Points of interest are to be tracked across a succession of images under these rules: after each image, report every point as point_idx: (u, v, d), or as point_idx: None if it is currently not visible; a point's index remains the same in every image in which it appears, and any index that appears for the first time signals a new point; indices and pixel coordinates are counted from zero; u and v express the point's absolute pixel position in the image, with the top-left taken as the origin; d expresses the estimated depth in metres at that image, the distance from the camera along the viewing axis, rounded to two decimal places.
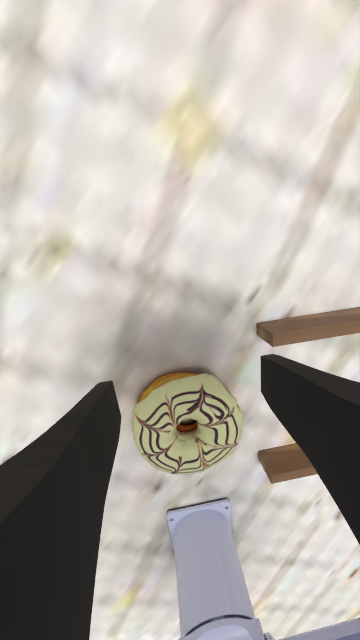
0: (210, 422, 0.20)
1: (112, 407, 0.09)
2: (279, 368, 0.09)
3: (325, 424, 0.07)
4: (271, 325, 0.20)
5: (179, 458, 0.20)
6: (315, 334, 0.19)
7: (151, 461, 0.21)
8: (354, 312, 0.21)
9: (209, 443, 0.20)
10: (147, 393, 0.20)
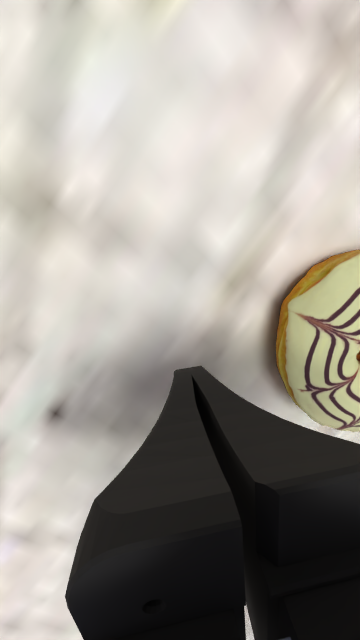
0: None
1: None
2: (194, 382, 0.09)
3: (216, 445, 0.07)
4: None
5: None
6: None
7: (315, 403, 0.12)
8: None
9: None
10: (313, 280, 0.11)
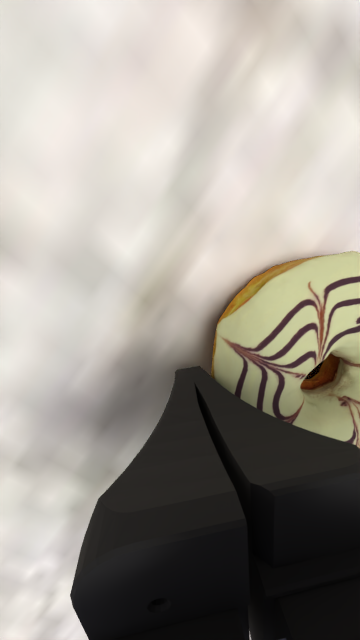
0: None
1: None
2: (193, 382, 0.09)
3: (213, 446, 0.07)
4: None
5: None
6: None
7: None
8: None
9: None
10: (246, 296, 0.09)
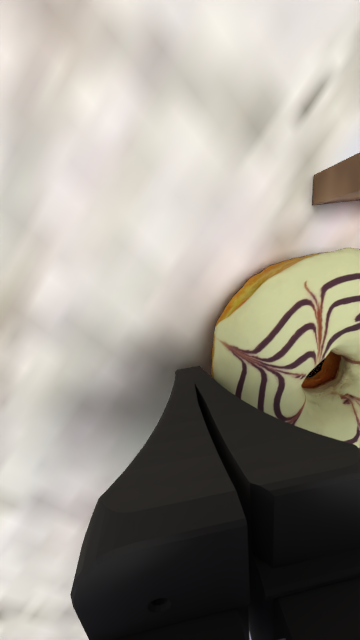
0: None
1: None
2: (192, 382, 0.09)
3: (213, 446, 0.07)
4: None
5: None
6: None
7: None
8: None
9: None
10: (243, 298, 0.09)
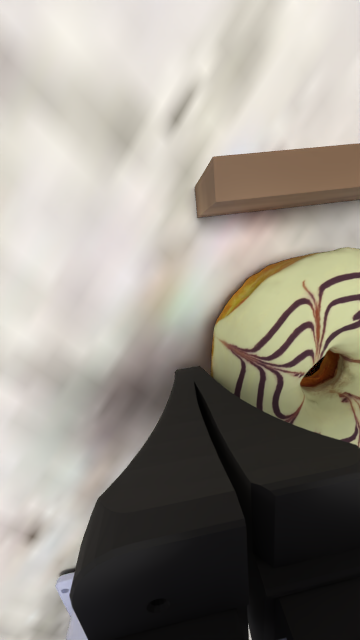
0: None
1: None
2: (193, 382, 0.09)
3: (214, 446, 0.07)
4: None
5: None
6: (331, 169, 0.07)
7: None
8: None
9: None
10: (242, 297, 0.09)
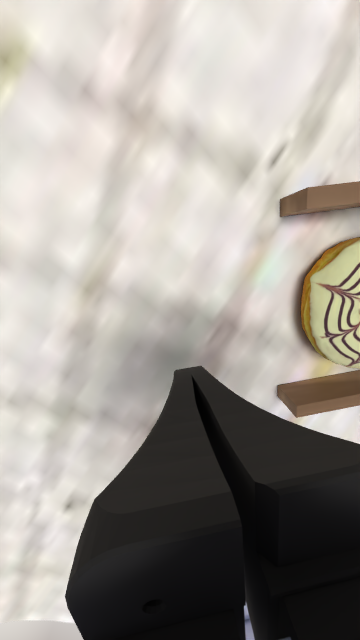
0: None
1: None
2: (194, 382, 0.09)
3: (216, 445, 0.07)
4: None
5: None
6: None
7: (332, 346, 0.17)
8: None
9: None
10: (327, 260, 0.16)
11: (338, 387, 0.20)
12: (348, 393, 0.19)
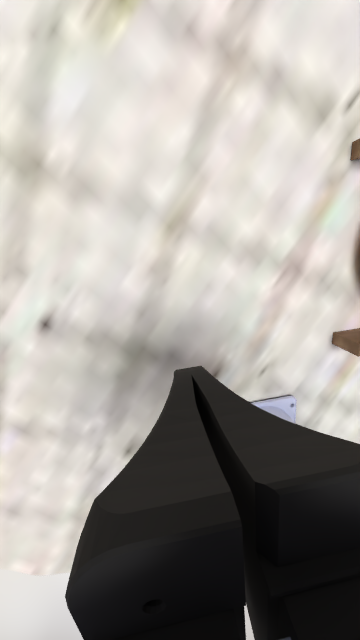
0: None
1: None
2: (194, 382, 0.09)
3: (216, 445, 0.07)
4: None
5: None
6: None
7: None
8: None
9: None
10: None
11: None
12: None
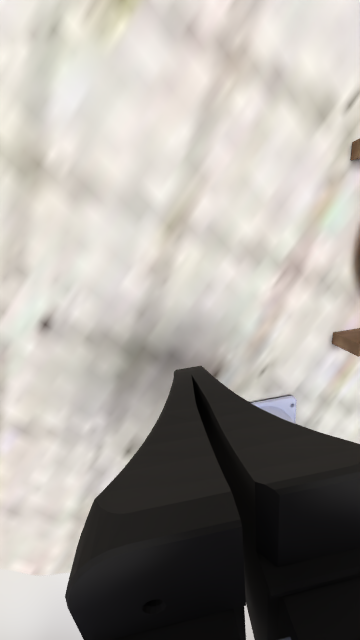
0: None
1: None
2: (194, 382, 0.09)
3: (216, 445, 0.07)
4: None
5: None
6: None
7: None
8: None
9: None
10: None
11: None
12: None
